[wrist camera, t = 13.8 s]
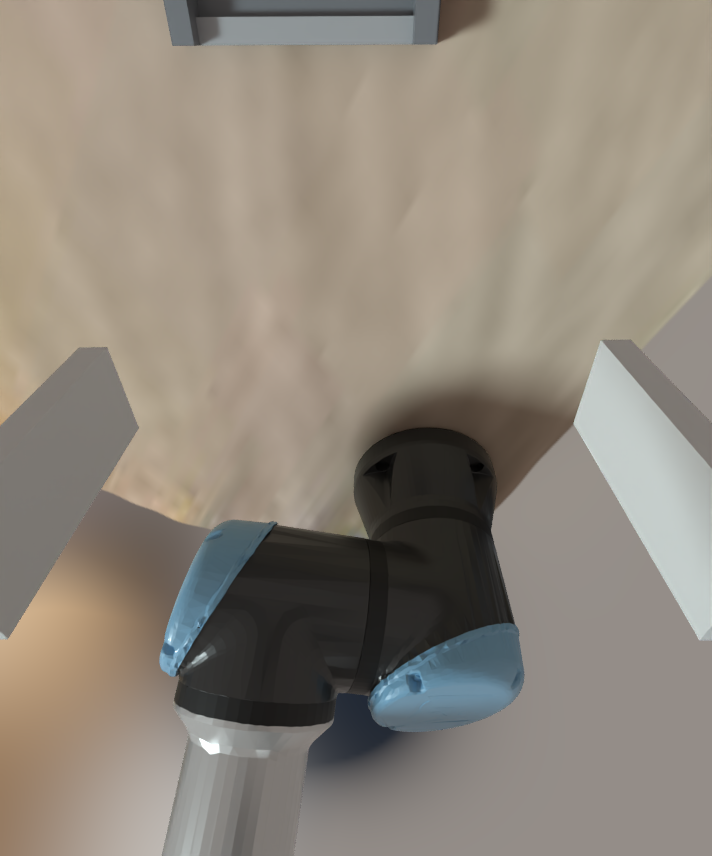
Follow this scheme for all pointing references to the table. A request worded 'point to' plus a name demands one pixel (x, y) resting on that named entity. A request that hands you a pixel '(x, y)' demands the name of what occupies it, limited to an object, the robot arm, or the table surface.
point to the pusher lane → (302, 22)
